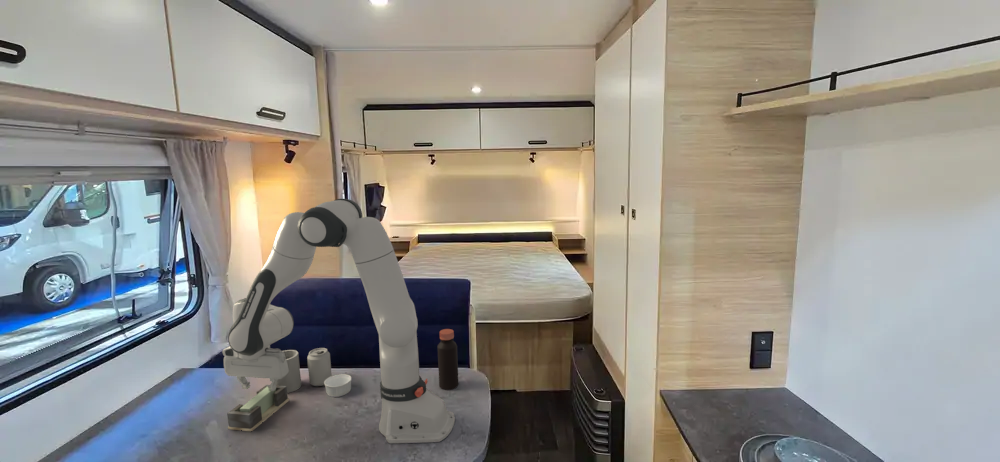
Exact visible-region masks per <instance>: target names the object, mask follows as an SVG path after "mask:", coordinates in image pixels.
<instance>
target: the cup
mask: <svg viewBox="0 0 1000 462" xmlns="http://www.w3.org/2000/svg"><path fill="white" fill-rule="evenodd" d="M281 351H282V352H284V354H285V358H286V361H287V365H288V370H289V372H288V374H287V375H286V376H285V377H283V378H282V379H278V381H277V383H276V385H277V386H287V394H290V393H293V392H294V391H297V390H298V389H299V388H301V386H302V377H301V368H300V357H299V352H298V351H297V350H296V349H287V350H286V349H285V350H281Z"/></svg>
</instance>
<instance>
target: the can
mask: <svg viewBox="0 0 1000 462" xmlns="http://www.w3.org/2000/svg"><path fill="white" fill-rule="evenodd" d="M306 359H307V360H306V361H307V369H308V379H309V380H308V381H309V384H310V385H312V386H314V387H323V386H325V385H324V381H325V380H326V379H327V378H329V377H331V376H333V375H332V364H331V363H332V362H331V353H330V352H329V351H328V348H325V347H319V348H318V347H317V348H314V349H312V350H310V351H309V352H308V355H307V358H306Z"/></svg>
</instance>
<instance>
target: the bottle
mask: <svg viewBox="0 0 1000 462" xmlns="http://www.w3.org/2000/svg"><path fill="white" fill-rule="evenodd" d="M454 332H455V331H454V330H453V328H452V329H450V328H444V329H441V330H440V331H439V340H440V342H439V343H438V344H437V363H438V385H439V388H440V389H442V390H445V391H450V390H454V389H456V388H457V387H458V386H459V365H458V364H459V363H458V345H457V343H456V341H454V339H455V338H454V337H455V333H454Z"/></svg>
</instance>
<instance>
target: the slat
mask: <svg viewBox="0 0 1000 462" xmlns="http://www.w3.org/2000/svg"><path fill="white" fill-rule="evenodd" d="M268 389H269V388H268V387H266V388H264V389H263V390H262V391H261V392H260V393H258V394H257V393H256V395H255V396H253V397H252V398H251V399H249V401H247V402H246V403H245V404H244V405H243V406H242V407H241V408H240V412H248V413H249V412H250V411H251V410H253V409H254V408H255V407H256V406H261V413H262V414H263V413H264V412H265V411H266V410H267V409H269V408H270V407H271V406H272V405H273V404H274V403H275V402H274V393H275V392H276V389H275V390H274V391H269V390H268Z"/></svg>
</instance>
